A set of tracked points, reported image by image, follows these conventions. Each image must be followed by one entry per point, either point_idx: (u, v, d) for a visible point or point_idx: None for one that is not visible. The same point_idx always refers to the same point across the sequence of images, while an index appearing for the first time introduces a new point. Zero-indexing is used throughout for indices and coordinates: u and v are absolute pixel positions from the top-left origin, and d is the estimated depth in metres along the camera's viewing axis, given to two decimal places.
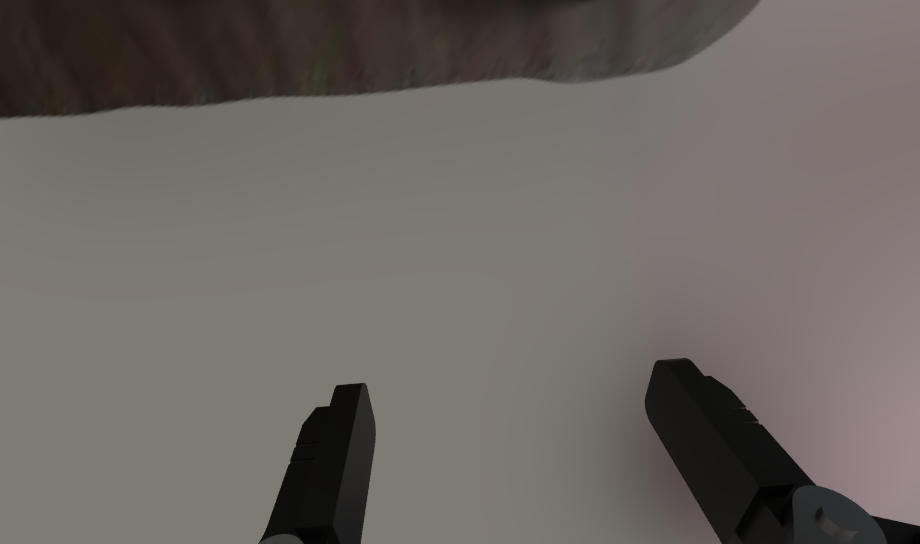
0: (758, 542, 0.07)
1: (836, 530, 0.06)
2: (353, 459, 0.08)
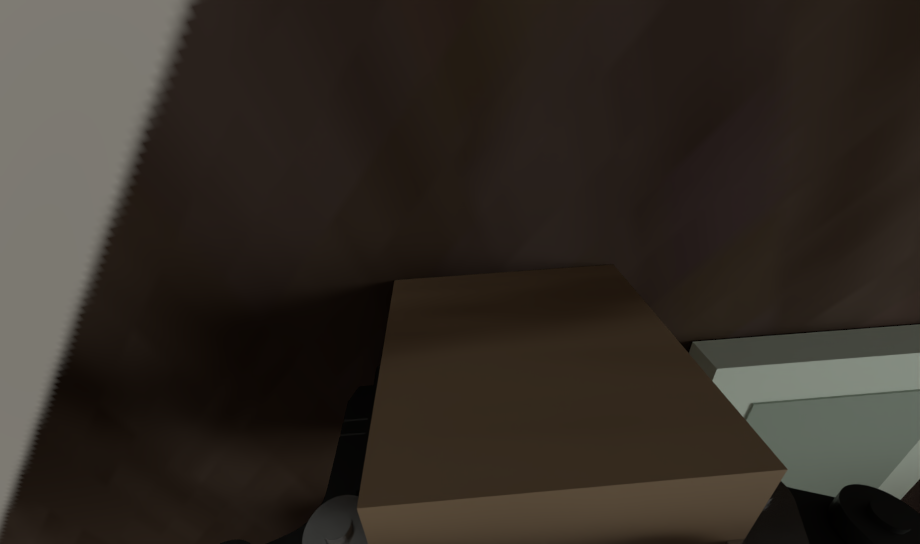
0: None
1: None
2: None
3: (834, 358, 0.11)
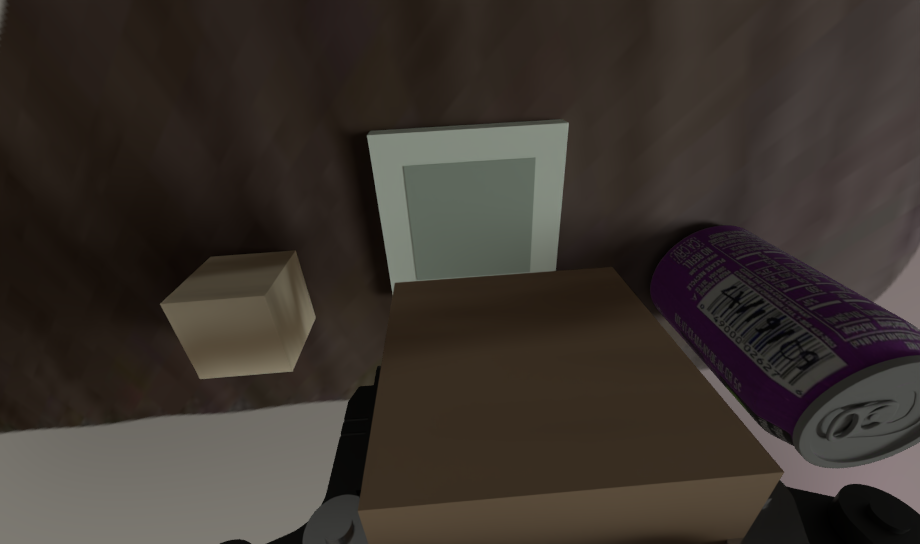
0: None
1: None
2: None
3: (439, 130, 0.19)
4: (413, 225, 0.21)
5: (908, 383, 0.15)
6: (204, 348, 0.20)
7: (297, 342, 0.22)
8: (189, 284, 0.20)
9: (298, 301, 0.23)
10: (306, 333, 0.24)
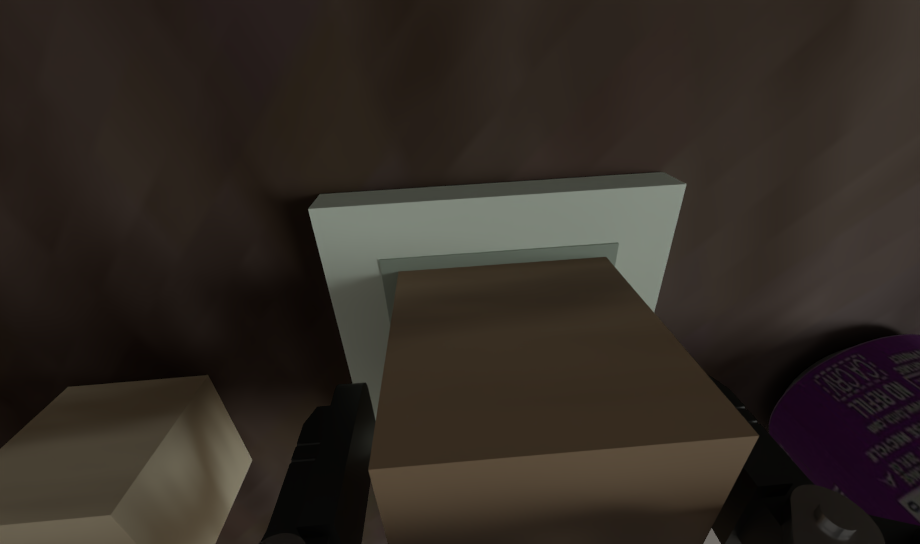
0: (757, 541, 0.07)
1: (834, 529, 0.06)
2: (354, 458, 0.09)
3: (445, 199, 0.10)
4: None
5: None
6: None
7: (205, 536, 0.13)
8: None
9: (211, 460, 0.14)
10: (229, 502, 0.15)
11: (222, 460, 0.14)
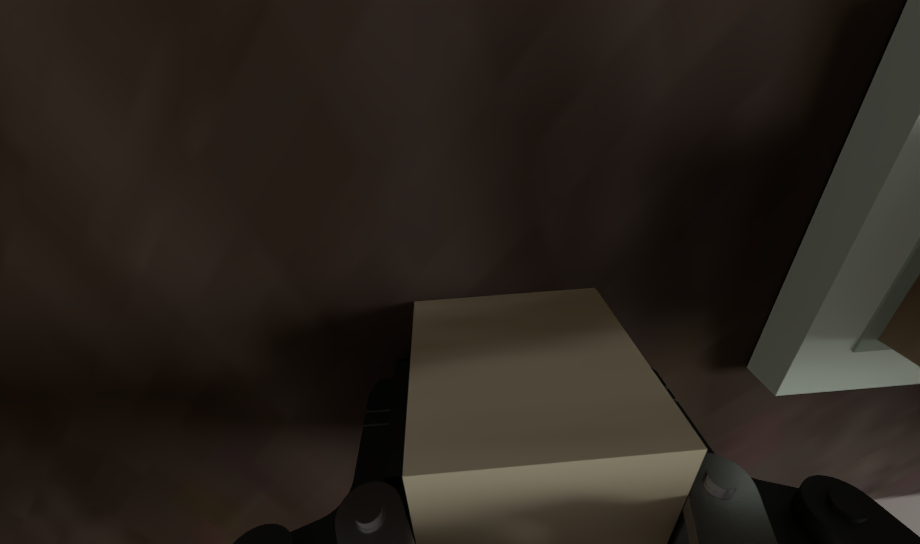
0: None
1: (716, 489, 0.07)
2: None
3: None
4: None
5: None
6: None
7: None
8: (431, 391, 0.08)
9: None
10: None
11: None
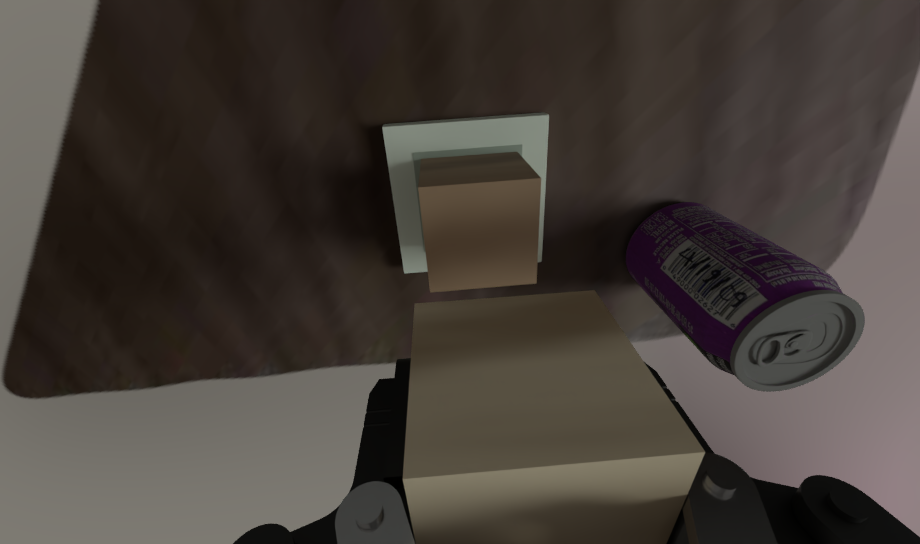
0: None
1: (715, 489, 0.07)
2: None
3: (441, 122, 0.23)
4: None
5: (817, 314, 0.18)
6: None
7: None
8: (431, 394, 0.08)
9: None
10: None
11: None
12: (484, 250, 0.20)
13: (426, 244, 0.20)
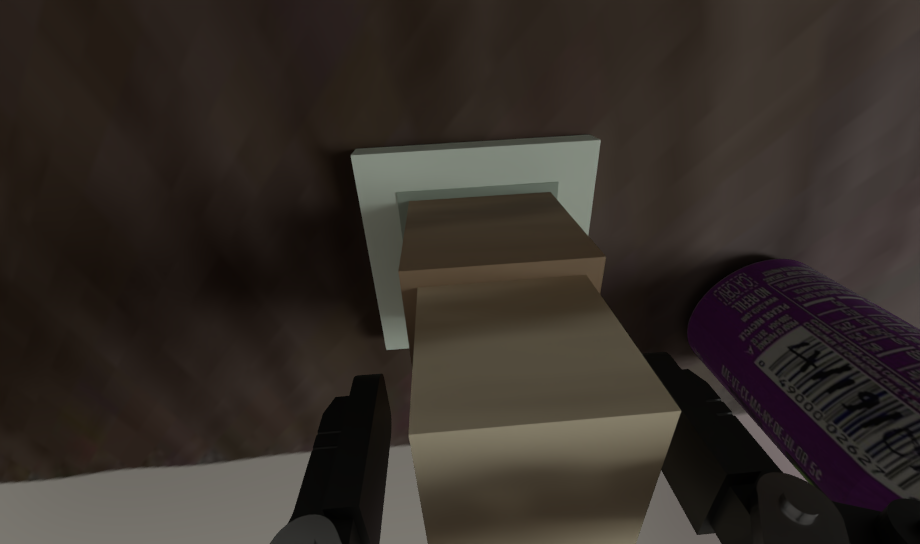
0: (727, 528, 0.08)
1: (797, 514, 0.07)
2: (373, 445, 0.09)
3: (440, 149, 0.15)
4: None
5: None
6: (470, 518, 0.08)
7: None
8: (433, 364, 0.08)
9: None
10: None
11: None
12: None
13: (413, 352, 0.12)
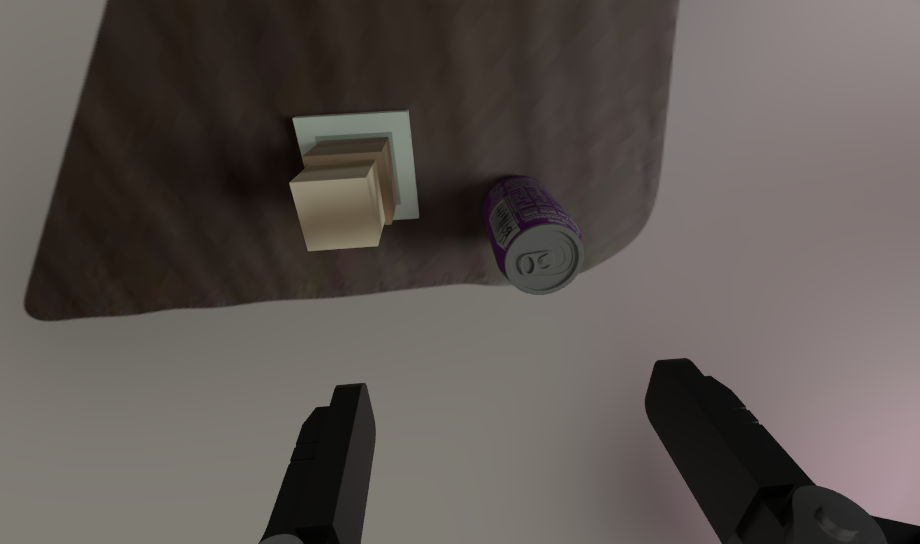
0: (758, 542, 0.07)
1: (836, 530, 0.06)
2: (353, 459, 0.08)
3: (333, 115, 0.34)
4: None
5: (552, 240, 0.29)
6: (315, 223, 0.27)
7: (378, 228, 0.29)
8: (304, 174, 0.27)
9: (378, 198, 0.29)
10: (381, 226, 0.30)
11: (379, 204, 0.30)
12: None
13: None
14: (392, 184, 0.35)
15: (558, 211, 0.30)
